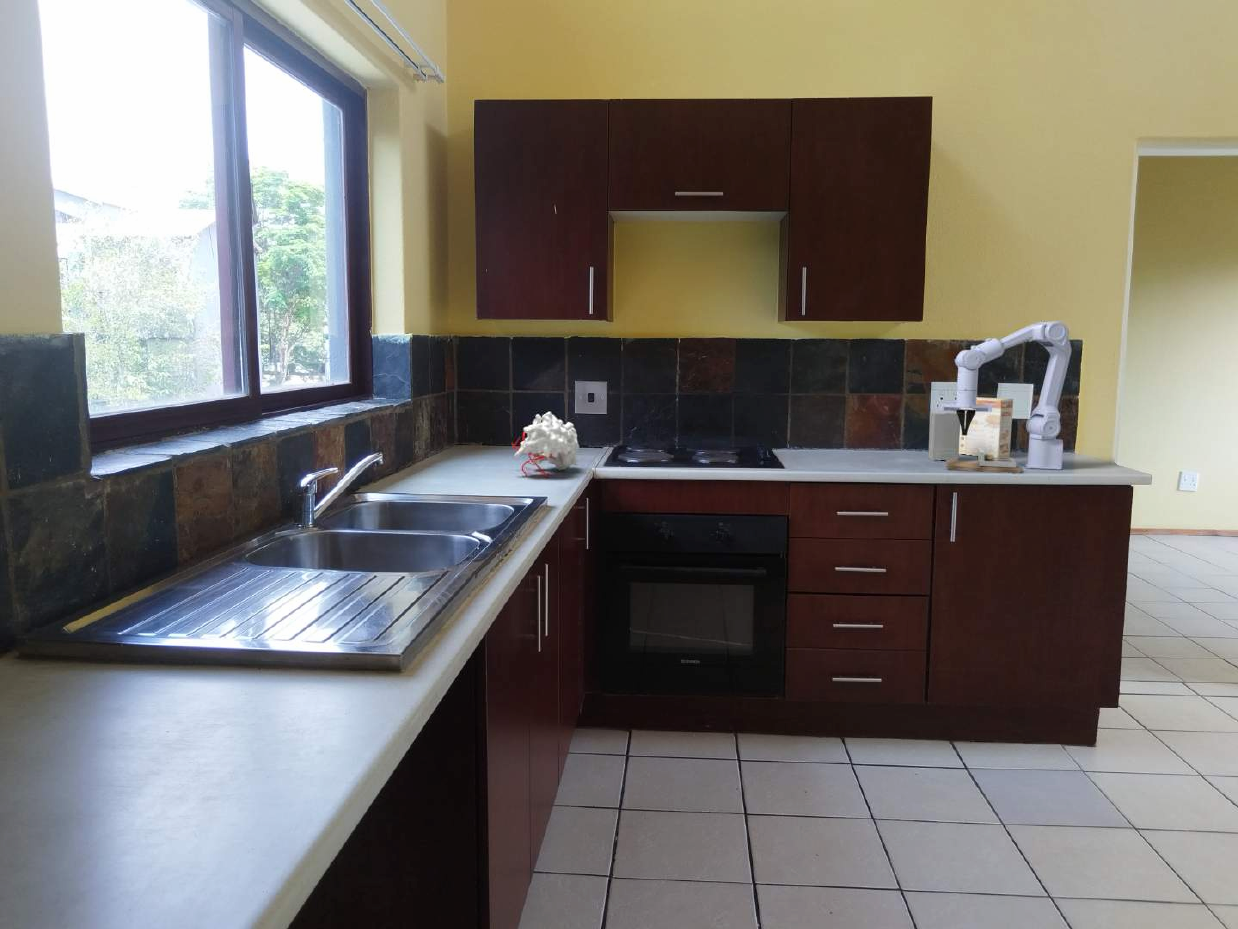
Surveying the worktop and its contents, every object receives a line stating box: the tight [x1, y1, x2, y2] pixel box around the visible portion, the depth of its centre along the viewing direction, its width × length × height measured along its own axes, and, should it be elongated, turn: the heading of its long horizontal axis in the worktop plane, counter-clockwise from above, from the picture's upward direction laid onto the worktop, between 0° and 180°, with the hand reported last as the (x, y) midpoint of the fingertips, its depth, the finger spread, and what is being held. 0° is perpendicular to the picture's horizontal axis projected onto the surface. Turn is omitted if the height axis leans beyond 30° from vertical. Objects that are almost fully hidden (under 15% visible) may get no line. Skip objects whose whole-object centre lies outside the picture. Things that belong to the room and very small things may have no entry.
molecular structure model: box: [511, 411, 580, 478], centre depth 255 cm, size 20×18×25 cm
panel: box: [977, 448, 1017, 468], centre depth 272 cm, size 10×11×4 cm
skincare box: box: [928, 410, 960, 461], centre depth 291 cm, size 8×7×16 cm
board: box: [945, 455, 1021, 474], centre depth 273 cm, size 20×14×4 cm
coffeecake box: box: [959, 396, 1014, 458], centre depth 302 cm, size 15×7×20 cm, turn 34°
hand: (964, 435), depth 275 cm, fingers closed
